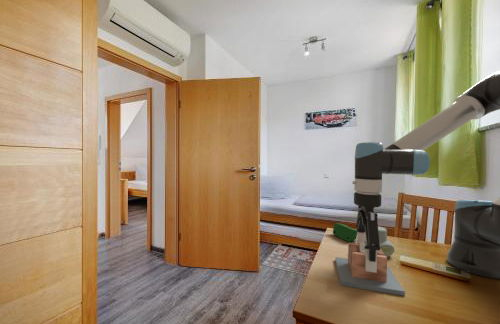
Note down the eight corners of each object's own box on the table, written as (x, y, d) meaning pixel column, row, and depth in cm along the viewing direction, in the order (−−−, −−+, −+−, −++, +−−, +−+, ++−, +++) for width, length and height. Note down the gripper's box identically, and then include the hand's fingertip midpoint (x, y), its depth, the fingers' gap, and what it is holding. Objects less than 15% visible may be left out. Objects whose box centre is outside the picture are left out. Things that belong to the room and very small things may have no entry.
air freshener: (371, 259, 80) (372, 232, 79) (357, 250, 88) (358, 225, 88) (398, 258, 81) (399, 231, 81) (381, 248, 89) (382, 224, 89)
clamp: (355, 250, 98) (365, 234, 95) (345, 248, 96) (355, 232, 93) (339, 231, 109) (348, 217, 106) (330, 230, 107) (339, 215, 104)
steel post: (370, 269, 70) (370, 240, 70) (372, 275, 66) (373, 244, 66) (358, 268, 71) (358, 238, 71) (360, 273, 67) (361, 242, 67)
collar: (377, 267, 72) (378, 245, 71) (386, 282, 63) (387, 257, 63) (347, 263, 74) (348, 242, 74) (352, 276, 65) (352, 253, 65)
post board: (386, 267, 74) (386, 263, 74) (404, 295, 59) (405, 291, 59) (335, 260, 78) (335, 257, 78) (340, 285, 63) (340, 281, 63)
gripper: (348, 186, 81) (346, 244, 81) (362, 198, 57) (360, 279, 58) (371, 188, 79) (369, 246, 79) (395, 200, 55) (392, 284, 55)
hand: (365, 260), depth 68 cm, fingers open, 13 cm apart
